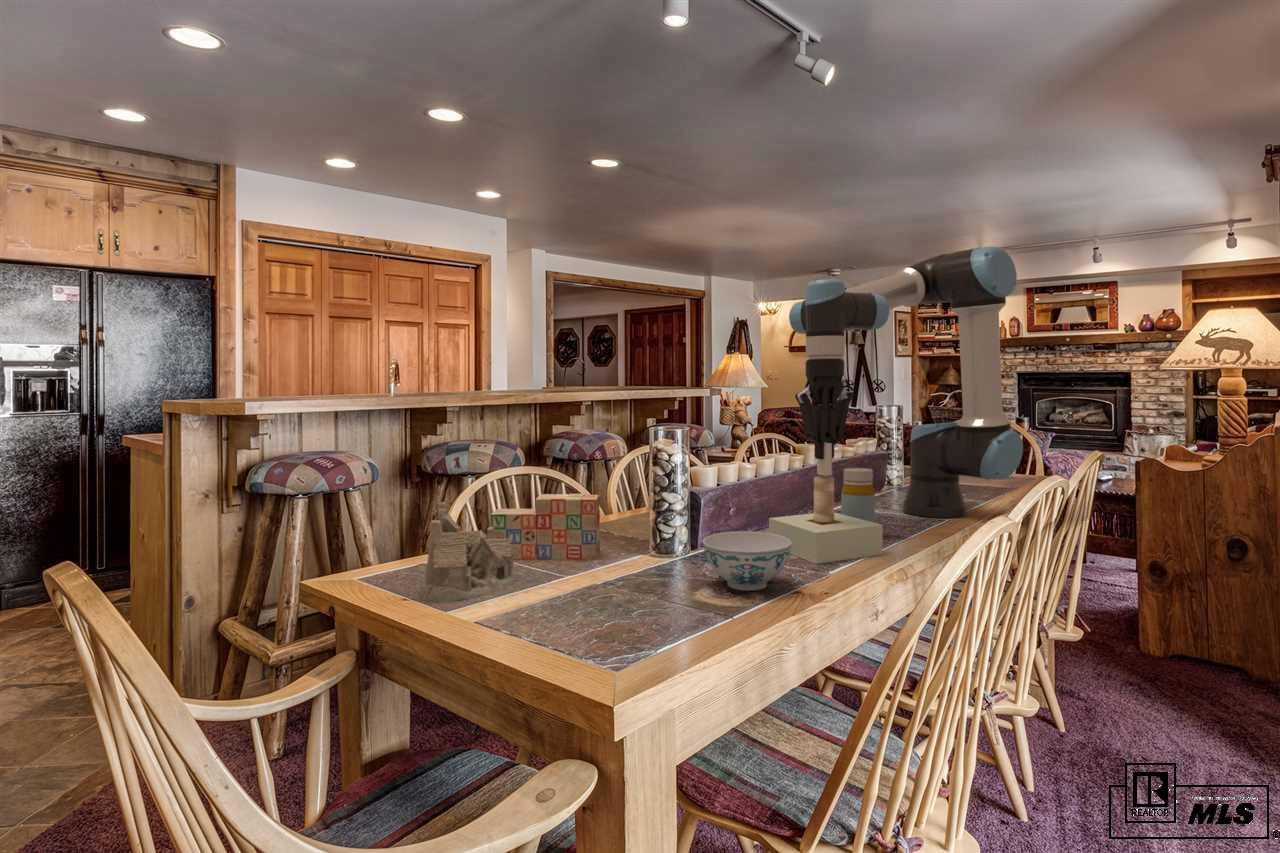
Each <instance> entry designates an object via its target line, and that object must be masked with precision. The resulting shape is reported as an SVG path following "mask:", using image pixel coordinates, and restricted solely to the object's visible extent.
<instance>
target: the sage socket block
mask: <svg viewBox="0 0 1280 853" xmlns="http://www.w3.org/2000/svg"><path fill="white" fill-rule="evenodd" d="M813 520H814V512H813V513H803V514H795V515H787V516H786V515H785V516H778V517H776V516H775V517H769V518H768V533H770V534H776V535H780V536H783V537H786V538H788V539H789V540H791V542H792V544H791V550H790V553H789V555H791V554H792V555H791V556H794V557H796V556H797V558H799V557H800V558H799V559H802V560H804V559H805V561H807V562H811V563H812V564H816V565H818V564H825V563H831V562H839V561H847V560H854V559H862V558H867V557H876V556H882V555H883V535H884V534H883V528H884V526H883V524H880V523H877V522H875V523H873V522H870V521H866V520H862V519H858V518H854V517H850V516H846V515H843V514H841V513H838V512H835V511H834V524H827V525H820V524H816V523H813Z"/></svg>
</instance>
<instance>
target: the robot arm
mask: <svg viewBox="0 0 1280 853" xmlns="http://www.w3.org/2000/svg"><path fill="white" fill-rule="evenodd" d="M1017 276H1018V275H1017V269H1016V266H1015V262H1014V261H1013V259H1012V257H1011V256H1010V255H1009V253H1008V252H1007V251H1006V250H1005V249H1003V248H1002V247H999V246H995V245H994V246H983V247H982V246H980V247H975V248H970V249H965V250H961V251H955V252H949V253H943V254H939V255H935V256H931V257H929V258H927V259H924V260H921V261H919V262H915V263H913V264H911V265H909V266H906V267H903V268H900V269H898V270H897V271H895V273H894V274H893V275H890V276H886V277H883V278H880V279H877V280H874V281H873V280H872V281H871V282H866V283H863V284H860V285H857V286H852V287H850V288H847V289H846V288H845V282H844V281H843V280H841V279H836V278H835V279H834V278H832V279H831V278H829V279H828V278H827V279H825V278H824V279H817V280H812V281H810V282H809V283H808V284H807V285H806V289H805V299H804V300H802V301H798V302H796V303H794V304H793V305H792V306H791V308H790V310H789V314H788V319H789V324H790V327H791V328H792V329H793V331H794V332H795V333H797V334H799V335H805V357H807V358H808V359H806V361H805V377H806V384H805V386H804V390H803V391H801V392H798V393H795V396H794V397H795V400H796V402H797V403H798V405H799V409H800V415H801V419H802V424H803V429H804V435H805V438H806V440H809V441H811V443H814V458H815V459H816V463H817V464H816V466H817V467H816V470H817V471H816V474H817V475H820V476H828V477H830V476H832V471H833V470H832V467H833V466H832V465H833V464H832V463H833V462H832V460H833V459H834V458H835V444H836V443H838V442H839V440H841V439H843V437H844V433H845V428H846V424H847V423H846V422H847V418H848V413H849V408H850V404H851V402H852V400H853V398H854V392H852V391H848V390H847V389H845V386H844V382H843V378H844V376H845V360H844V359H843V358H842V357H844V356H845V332H847V331H848V332H849V331H857V330H858V331H873V330H875V331H877V330H879V329H881V328H882V327H883V326H885V324H886V323H887V322H888V319H889V315H890V310H892V309H895V308H899V307H902V306H903V307H906V308H909V307H910V308H911V307H915V306H919V305H925V304H941V303H942V304H943V303H950V311H952V312H953V313H954V314H955V315H957V317H958V333H959V334H958V335H959V336H958V337H959V353H960V355H959V357H960V358H959V359H960V377H961V379H960V380H961V398H962V400H961V402H962V417H961V418H960V419H959V420H958V421H952V422H951V421H950V422H941V423H939V422H938V423H927V424H919V425H915V426H913V427H912V429H911V431H910V432H911V433H910V440H909V447H910V448H909V449H910V450H909V453H910V455H909V456H910V460H909V463H910V466H909V467H910V468H909V469H910V480H909V484H908V487H907V490H906V495H905V498H904V500H903V501H902V512H904V513H905V514H908V515H912V516H918V517H925V518H936V519H937V518H940V519H942V518H947V519H949V518H960V517H964V516H966V515H967V504H966V503H965V501H964V496H963V493H962V490H961V486H960V476H964V477H972V478H980V479H984V480H1005V479H1008V478H1009V477H1010V476H1012V475H1013V474H1014V472H1015V471H1016V470H1017V468H1018V467H1019V465H1020V463H1021V461H1022V457H1023V453H1024V452H1023V451H1024V443H1023V439H1022V438H1021V435H1020V434H1019V433H1018V432H1017V431H1014V430H1012V429H1011V428H1012V427H1011V420H1010V419H1008V417H1006V416H1005V415H1004V409H1003V387H1002V386H1003V384H1002V381H1003V380H1002V360H1001V355H1002V354H1001V335H1000V334H1001V333H1000V331H1001V330H1000V314H999V313H1000V312H1001V311H1002V309H1003V308H1004V307H1005V306H1006V305H1007V304H1006V302H1007V301H1006V299H1007V298H1006V297H1008V296H1010V295H1011V294H1012V293H1013V292H1014V291H1015V288H1016V287H1015V286H1016V284H1017V282H1018V281H1017V279H1018V278H1017Z"/></svg>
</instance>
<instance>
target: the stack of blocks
mask: <svg viewBox="0 0 1280 853" xmlns="http://www.w3.org/2000/svg"><path fill="white" fill-rule="evenodd" d="M534 507H535V508H497V509H495V510H494V511H493V512H492V513H490V527H494V530H495V539H507V538H508V539H510V541H511V551H512V553H513V557H514V560H597V559H598V557H599V554H600V552H601V551H600V550H601V549H600V548H601V545H600V544H601V543H600V538H601V537H600V536H601V534H600V533H601V532H600V531H601V530H600V528H601V527H600V520H601V518H600V516H601V515H600V514H601V511H600V494H584V493H569V494H568V493H567V494H566V493H559V494H558V493H556V494H555V493H554V494H552V493H547V494H545V493H543V494H539V495H538V496H537V497H536V498H535V506H534Z"/></svg>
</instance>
